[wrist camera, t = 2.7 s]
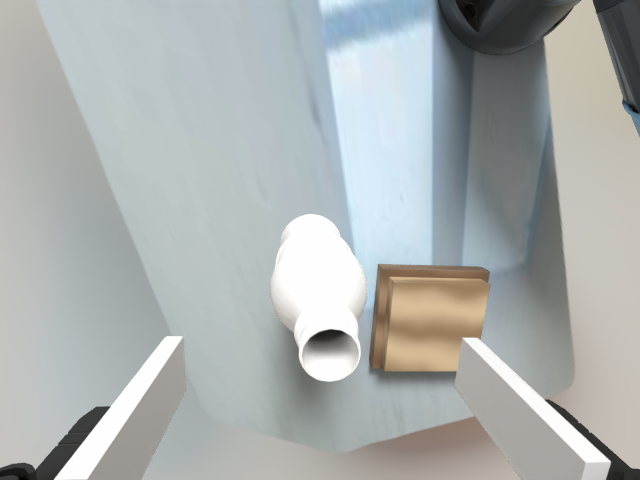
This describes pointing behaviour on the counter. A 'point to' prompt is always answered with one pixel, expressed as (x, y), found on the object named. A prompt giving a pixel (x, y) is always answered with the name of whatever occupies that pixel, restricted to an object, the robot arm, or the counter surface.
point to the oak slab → (431, 321)
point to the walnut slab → (409, 271)
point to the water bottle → (320, 296)
